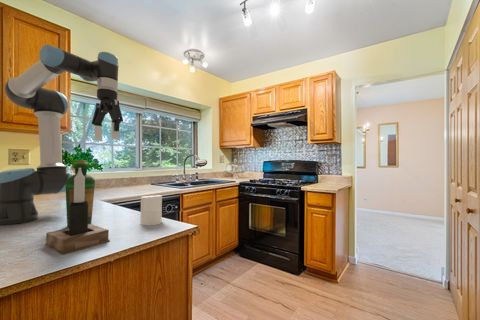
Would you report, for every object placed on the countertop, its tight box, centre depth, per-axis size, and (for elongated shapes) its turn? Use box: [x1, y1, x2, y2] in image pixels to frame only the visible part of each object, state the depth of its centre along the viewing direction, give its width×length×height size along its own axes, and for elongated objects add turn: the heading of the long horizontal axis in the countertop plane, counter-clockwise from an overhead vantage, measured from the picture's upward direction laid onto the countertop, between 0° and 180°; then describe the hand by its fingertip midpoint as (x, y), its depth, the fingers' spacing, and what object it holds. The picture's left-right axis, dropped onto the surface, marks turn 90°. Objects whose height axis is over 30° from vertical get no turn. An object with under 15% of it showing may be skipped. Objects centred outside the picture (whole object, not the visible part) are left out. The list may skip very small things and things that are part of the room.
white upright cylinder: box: [139, 194, 163, 226], centre depth 102 cm, size 9×9×12 cm
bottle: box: [65, 159, 96, 227], centre depth 96 cm, size 11×11×28 cm
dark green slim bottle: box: [68, 168, 88, 236], centre depth 75 cm, size 5×5×25 cm
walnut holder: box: [44, 223, 110, 255], centre depth 75 cm, size 14×14×4 cm
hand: (106, 140), depth 95 cm, fingers open, 13 cm apart
